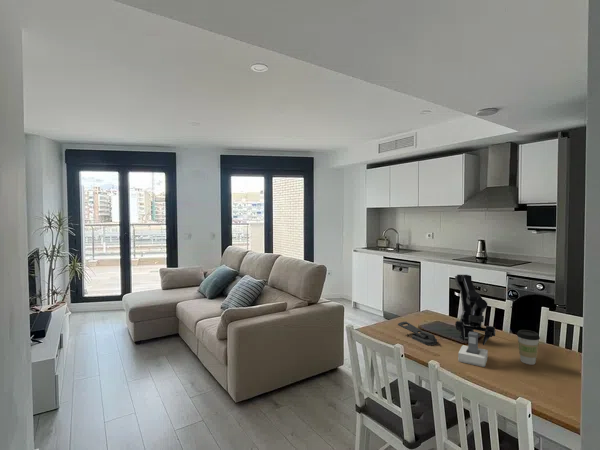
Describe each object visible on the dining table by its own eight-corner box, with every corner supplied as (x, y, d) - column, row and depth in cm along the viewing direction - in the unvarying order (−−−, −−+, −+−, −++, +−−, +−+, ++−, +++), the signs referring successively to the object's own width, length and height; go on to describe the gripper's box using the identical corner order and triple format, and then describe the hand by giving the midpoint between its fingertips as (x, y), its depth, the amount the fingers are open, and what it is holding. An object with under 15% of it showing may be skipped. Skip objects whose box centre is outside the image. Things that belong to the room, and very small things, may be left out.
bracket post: (469, 355, 179) (469, 331, 178) (477, 357, 177) (477, 332, 176) (468, 359, 175) (468, 334, 175) (476, 360, 173) (476, 335, 172)
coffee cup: (512, 359, 175) (512, 331, 175) (524, 356, 179) (524, 328, 179) (531, 367, 166) (531, 337, 166) (544, 363, 170) (544, 334, 170)
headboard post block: (462, 353, 185) (462, 345, 184) (487, 358, 178) (487, 349, 177) (458, 361, 175) (458, 352, 175) (484, 367, 168) (484, 358, 168)
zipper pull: (405, 320, 221) (439, 331, 199) (405, 330, 221) (439, 343, 200) (396, 323, 216) (429, 335, 195) (396, 333, 216) (429, 346, 195)
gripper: (455, 306, 186) (451, 332, 177) (494, 311, 175) (492, 339, 167) (458, 316, 193) (454, 342, 184) (496, 322, 182) (494, 349, 174)
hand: (473, 343), depth 177 cm, fingers open, 9 cm apart
